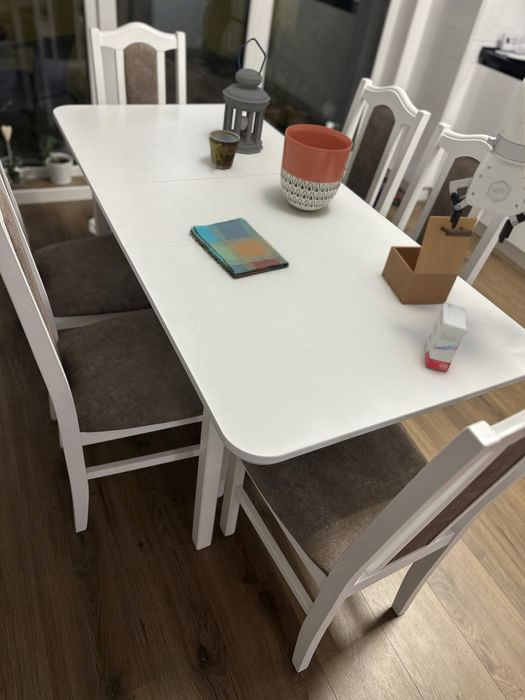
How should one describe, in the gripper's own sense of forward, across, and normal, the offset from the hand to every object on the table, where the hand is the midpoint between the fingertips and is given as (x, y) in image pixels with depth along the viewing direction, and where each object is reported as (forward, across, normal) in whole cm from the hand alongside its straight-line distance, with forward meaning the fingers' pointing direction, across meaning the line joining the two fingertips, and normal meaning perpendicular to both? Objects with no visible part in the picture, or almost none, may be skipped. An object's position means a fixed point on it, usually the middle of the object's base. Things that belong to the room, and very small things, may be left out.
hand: (476, 233), depth 109 cm
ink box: (+27, +2, -9) cm, 28 cm away
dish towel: (+27, -52, +10) cm, 59 cm away
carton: (+26, -6, +17) cm, 32 cm away
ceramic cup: (+27, -76, +57) cm, 98 cm away
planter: (+27, -44, +46) cm, 69 cm away
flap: (+11, -3, +13) cm, 17 cm away
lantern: (+27, -77, +80) cm, 114 cm away
